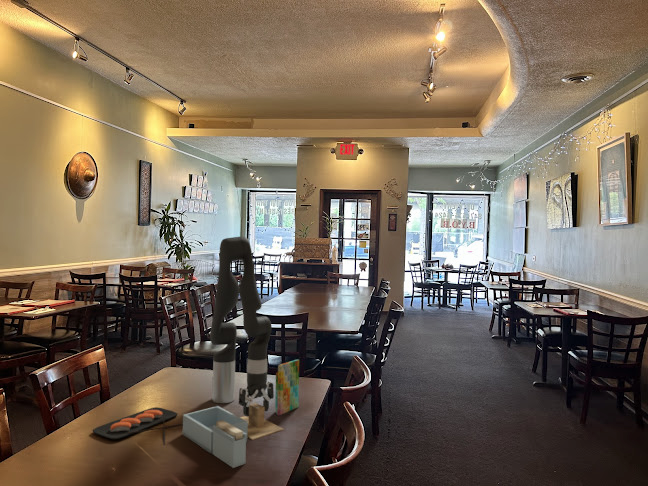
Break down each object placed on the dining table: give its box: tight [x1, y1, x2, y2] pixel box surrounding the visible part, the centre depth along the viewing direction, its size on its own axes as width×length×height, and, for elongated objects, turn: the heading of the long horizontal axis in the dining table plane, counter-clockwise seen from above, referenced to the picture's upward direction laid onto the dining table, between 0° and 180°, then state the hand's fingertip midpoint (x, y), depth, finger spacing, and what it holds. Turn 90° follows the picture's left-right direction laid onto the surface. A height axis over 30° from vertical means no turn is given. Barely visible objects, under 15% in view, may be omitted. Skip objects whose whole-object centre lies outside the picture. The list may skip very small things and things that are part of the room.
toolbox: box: [182, 405, 248, 469], centre depth 160 cm, size 33×14×9 cm, turn 43°
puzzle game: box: [274, 359, 300, 416], centre depth 193 cm, size 12×5×20 cm, turn 144°
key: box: [216, 420, 243, 440], centre depth 149 cm, size 12×2×2 cm, turn 43°
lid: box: [239, 402, 284, 441], centre depth 175 cm, size 20×14×8 cm
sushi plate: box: [92, 406, 183, 446], centre depth 171 cm, size 29×30×4 cm
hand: (256, 413), depth 176 cm, fingers open, 8 cm apart
